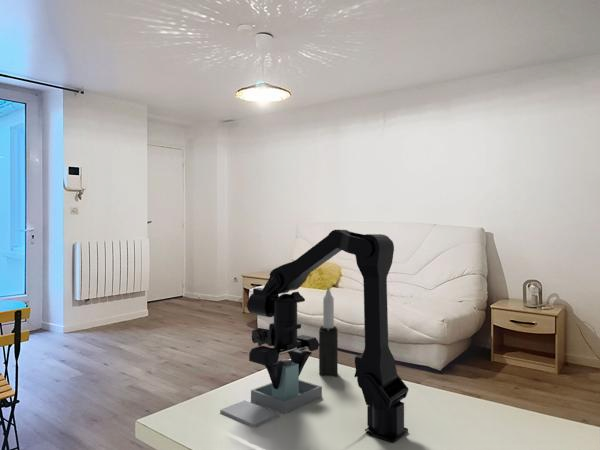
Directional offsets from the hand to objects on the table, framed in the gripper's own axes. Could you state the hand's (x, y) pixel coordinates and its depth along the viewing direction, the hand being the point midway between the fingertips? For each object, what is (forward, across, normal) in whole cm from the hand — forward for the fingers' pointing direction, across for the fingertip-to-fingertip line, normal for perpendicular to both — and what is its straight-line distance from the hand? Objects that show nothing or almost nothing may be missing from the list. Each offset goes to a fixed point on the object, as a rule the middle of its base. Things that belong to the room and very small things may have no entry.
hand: (285, 385), depth 102 cm
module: (+3, 0, 0) cm, 3 cm away
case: (+4, 0, 0) cm, 4 cm away
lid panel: (+4, +12, 0) cm, 13 cm away
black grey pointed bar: (+4, -22, -4) cm, 22 cm away
